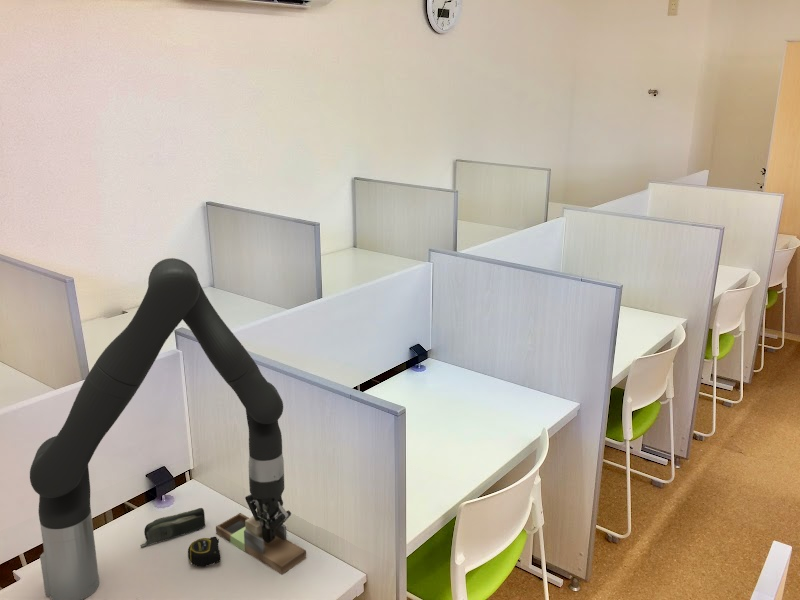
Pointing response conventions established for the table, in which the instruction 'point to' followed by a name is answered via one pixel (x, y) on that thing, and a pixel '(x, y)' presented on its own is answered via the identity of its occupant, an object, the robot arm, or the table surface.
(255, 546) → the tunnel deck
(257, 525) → the block
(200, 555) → the tape measure
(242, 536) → the pad
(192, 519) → the green pencil case
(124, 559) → the table surface
